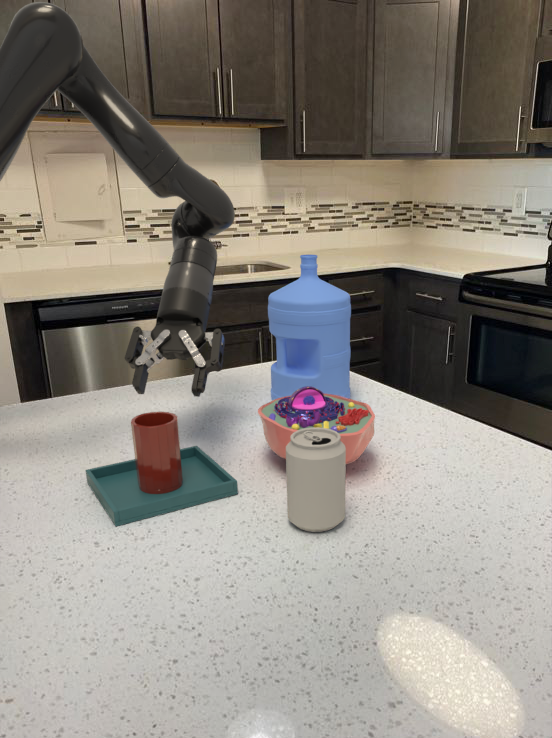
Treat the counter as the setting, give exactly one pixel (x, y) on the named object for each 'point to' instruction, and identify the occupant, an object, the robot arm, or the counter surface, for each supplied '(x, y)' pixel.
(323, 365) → the water jug
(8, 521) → the counter surface
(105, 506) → the rectangular tray
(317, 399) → the cell model
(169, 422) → the cup
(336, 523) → the can
